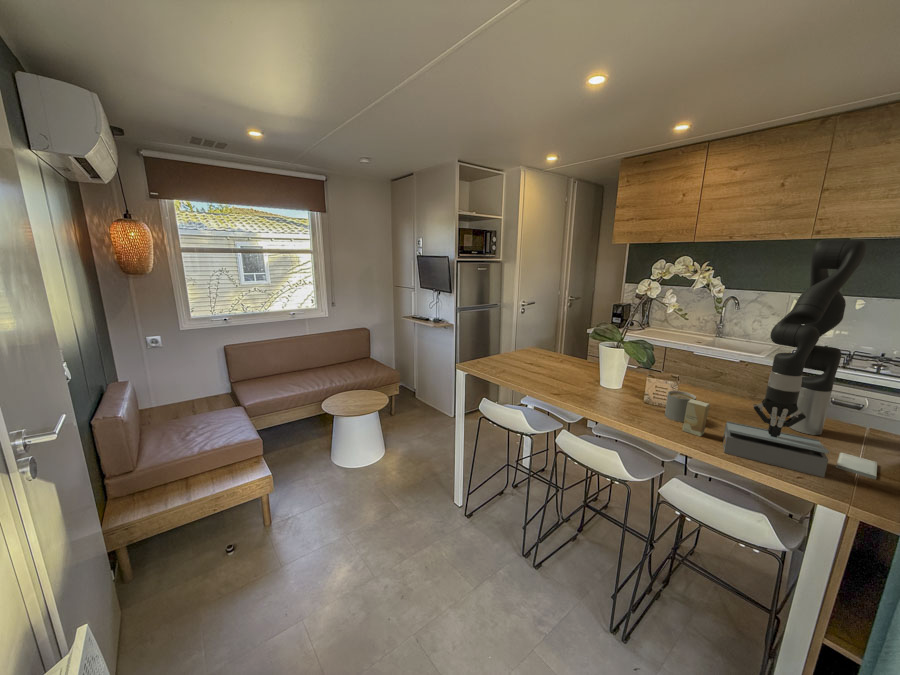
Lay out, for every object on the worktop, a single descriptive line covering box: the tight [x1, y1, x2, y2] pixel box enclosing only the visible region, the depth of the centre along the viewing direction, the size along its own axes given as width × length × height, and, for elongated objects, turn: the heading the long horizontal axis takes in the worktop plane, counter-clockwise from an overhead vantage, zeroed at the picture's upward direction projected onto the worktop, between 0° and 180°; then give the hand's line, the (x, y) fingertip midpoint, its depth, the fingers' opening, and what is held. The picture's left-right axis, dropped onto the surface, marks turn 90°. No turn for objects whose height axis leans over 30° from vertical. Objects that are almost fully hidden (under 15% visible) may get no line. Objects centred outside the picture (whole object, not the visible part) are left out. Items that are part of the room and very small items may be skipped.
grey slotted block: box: [722, 423, 829, 478], centre depth 117 cm, size 12×24×6 cm, turn 54°
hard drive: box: [835, 452, 878, 480], centre depth 112 cm, size 2×8×12 cm
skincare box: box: [681, 399, 711, 437], centre depth 133 cm, size 6×4×12 cm
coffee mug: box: [664, 390, 697, 423], centre depth 148 cm, size 13×10×10 cm
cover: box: [725, 420, 830, 455], centre depth 117 cm, size 12×24×1 cm, turn 54°
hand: (773, 435), depth 115 cm, fingers closed
